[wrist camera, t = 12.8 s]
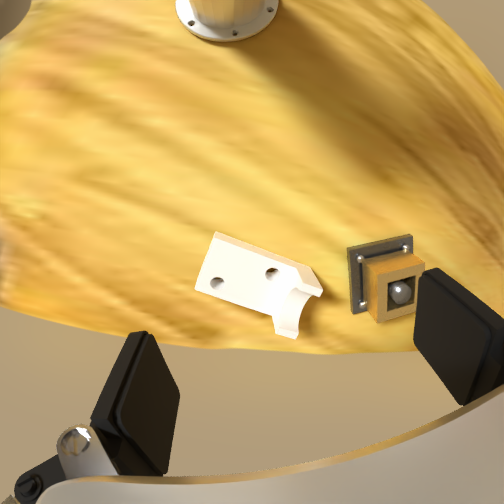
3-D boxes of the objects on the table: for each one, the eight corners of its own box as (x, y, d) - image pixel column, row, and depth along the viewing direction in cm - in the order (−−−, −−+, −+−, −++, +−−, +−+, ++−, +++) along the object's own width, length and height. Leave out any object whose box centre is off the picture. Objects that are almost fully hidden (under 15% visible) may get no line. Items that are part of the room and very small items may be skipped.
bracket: (308, 264, 40) (323, 290, 33) (286, 307, 42) (295, 339, 35) (216, 229, 38) (211, 249, 30) (197, 277, 40) (190, 305, 33)
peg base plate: (346, 247, 39) (366, 267, 32) (409, 233, 39) (436, 250, 32) (350, 310, 42) (367, 337, 36) (408, 294, 42) (430, 317, 36)
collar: (361, 259, 38) (377, 275, 33) (406, 249, 38) (424, 262, 33) (363, 304, 40) (377, 323, 36) (405, 293, 40) (421, 309, 35)
